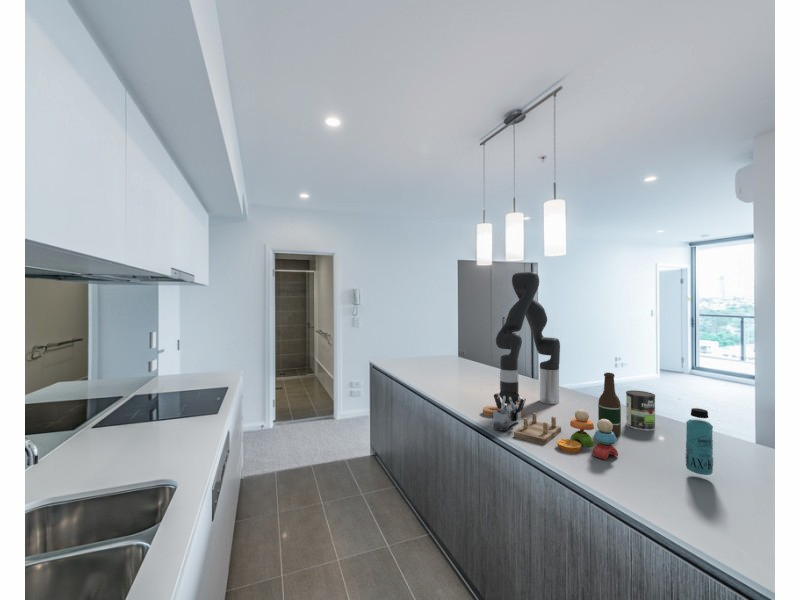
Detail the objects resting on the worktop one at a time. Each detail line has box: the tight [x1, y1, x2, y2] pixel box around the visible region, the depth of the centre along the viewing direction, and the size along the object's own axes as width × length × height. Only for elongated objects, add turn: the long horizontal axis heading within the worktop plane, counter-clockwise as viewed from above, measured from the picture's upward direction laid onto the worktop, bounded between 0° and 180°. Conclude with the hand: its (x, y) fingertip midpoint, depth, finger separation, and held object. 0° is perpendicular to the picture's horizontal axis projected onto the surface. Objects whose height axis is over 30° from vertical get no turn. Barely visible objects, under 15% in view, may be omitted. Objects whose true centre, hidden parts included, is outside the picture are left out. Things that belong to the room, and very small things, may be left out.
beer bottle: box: [597, 372, 622, 437], centre depth 145 cm, size 8×8×24 cm
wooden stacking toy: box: [556, 408, 619, 460], centre depth 129 cm, size 18×17×12 cm
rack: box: [513, 412, 562, 446], centre depth 144 cm, size 18×12×6 cm, turn 138°
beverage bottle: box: [684, 407, 714, 476], centre depth 110 cm, size 6×7×20 cm
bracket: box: [482, 399, 524, 418], centre depth 169 cm, size 18×8×7 cm, turn 81°
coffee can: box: [625, 389, 656, 432], centre depth 153 cm, size 10×10×14 cm
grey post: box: [492, 405, 522, 431], centre depth 153 cm, size 18×6×6 cm, turn 138°
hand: (509, 419), depth 155 cm, fingers closed on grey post, 4 cm apart
